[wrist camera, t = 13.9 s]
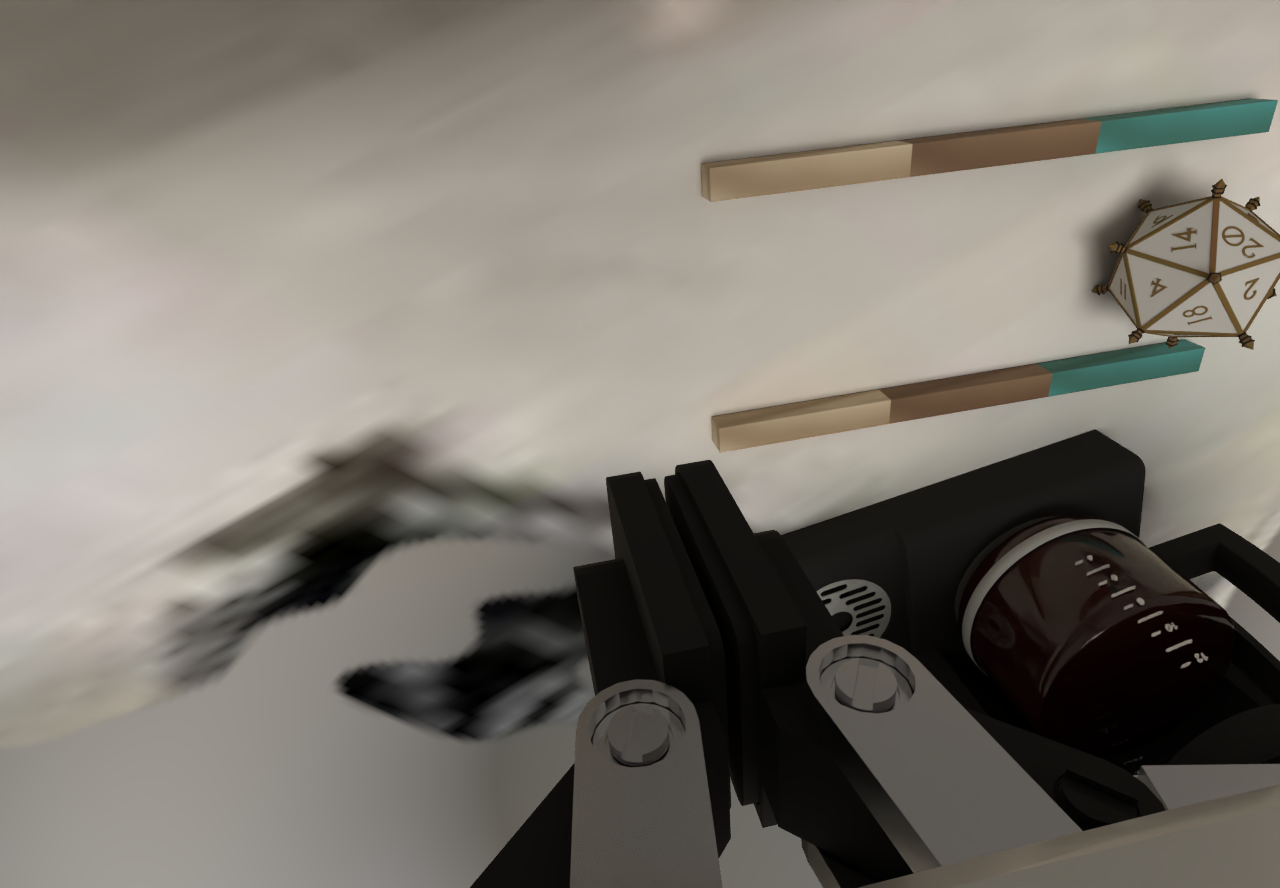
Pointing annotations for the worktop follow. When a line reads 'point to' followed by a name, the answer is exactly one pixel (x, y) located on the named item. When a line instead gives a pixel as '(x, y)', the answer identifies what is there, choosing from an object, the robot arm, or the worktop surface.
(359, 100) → the worktop surface
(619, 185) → the worktop surface
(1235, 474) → the worktop surface
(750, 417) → the pair of wooden rods
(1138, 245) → the game die
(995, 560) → the coffee maker
